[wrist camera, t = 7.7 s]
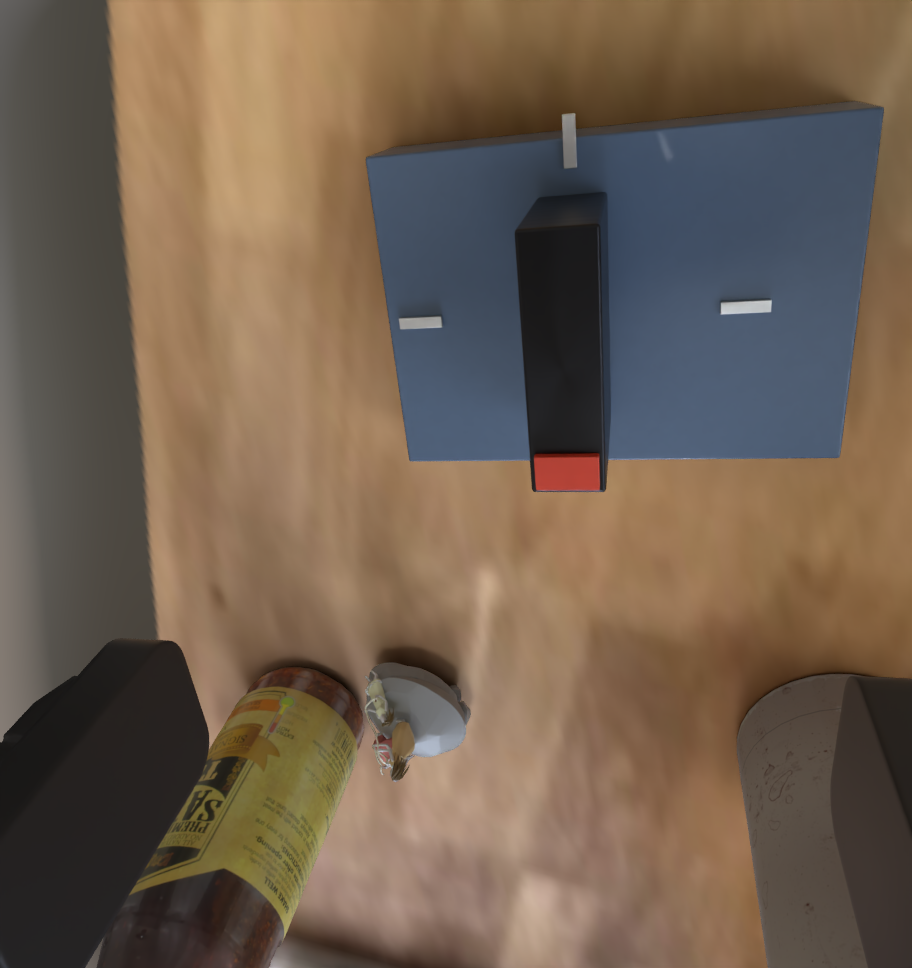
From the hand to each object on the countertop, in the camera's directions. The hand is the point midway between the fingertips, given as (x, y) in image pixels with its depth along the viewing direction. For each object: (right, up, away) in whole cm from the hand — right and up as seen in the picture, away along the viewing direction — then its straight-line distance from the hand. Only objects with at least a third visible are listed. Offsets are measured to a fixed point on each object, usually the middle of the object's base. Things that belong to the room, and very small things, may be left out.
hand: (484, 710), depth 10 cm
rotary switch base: (+5, +9, +17) cm, 20 cm away
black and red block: (+3, +8, +15) cm, 17 cm away
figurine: (-2, -6, +27) cm, 28 cm away
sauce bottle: (-8, -8, +30) cm, 32 cm away
